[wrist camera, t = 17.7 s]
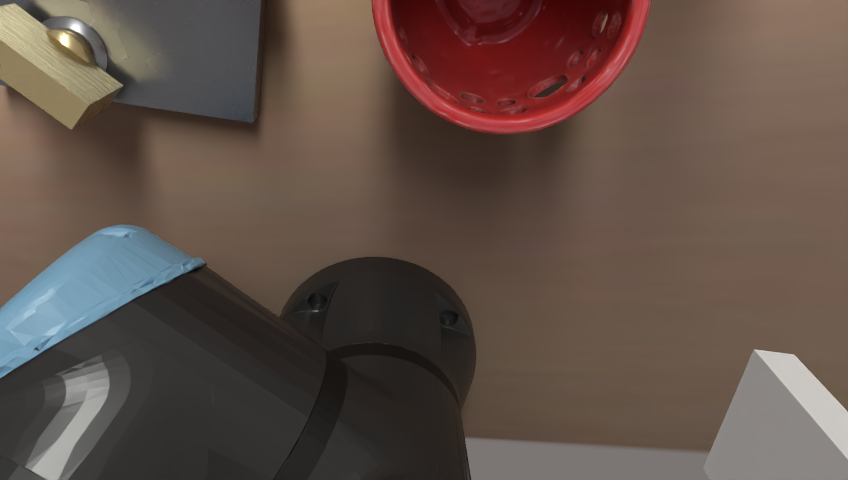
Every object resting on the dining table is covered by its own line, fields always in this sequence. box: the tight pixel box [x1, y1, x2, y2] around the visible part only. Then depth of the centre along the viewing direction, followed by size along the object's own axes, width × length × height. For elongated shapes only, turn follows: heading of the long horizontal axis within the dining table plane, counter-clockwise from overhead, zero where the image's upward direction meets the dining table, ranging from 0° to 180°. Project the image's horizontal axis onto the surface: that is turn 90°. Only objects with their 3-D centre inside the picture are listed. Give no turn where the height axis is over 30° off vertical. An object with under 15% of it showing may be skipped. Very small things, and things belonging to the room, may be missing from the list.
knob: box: [0, 4, 123, 130], centre depth 38 cm, size 7×3×6 cm, turn 48°
